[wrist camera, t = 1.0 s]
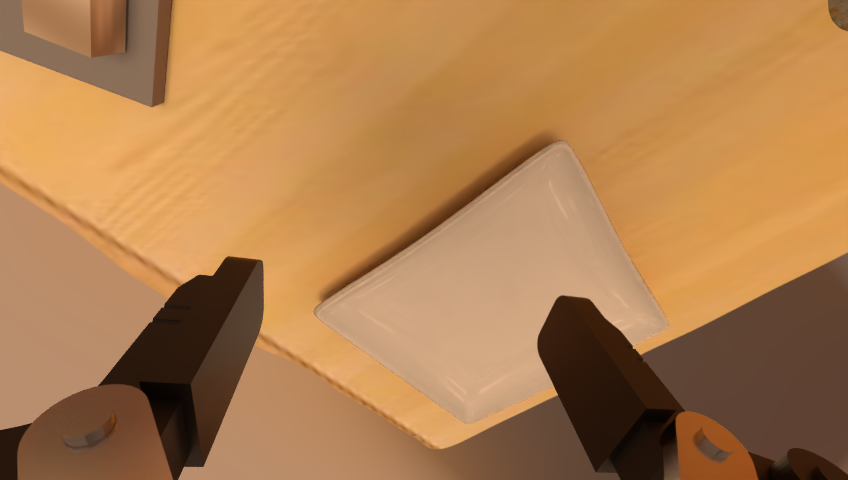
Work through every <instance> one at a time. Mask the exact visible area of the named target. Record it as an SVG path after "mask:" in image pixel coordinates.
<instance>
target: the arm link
mask: <svg viewBox="0 0 848 480" xmlns="http://www.w3.org/2000/svg"><path fill="white" fill-rule="evenodd" d="M21 3H22V13H23V23H24V32H27V33H29V34H32V35H35V36H37V37H40V38H42V39H45V40H47V41H50V42H52V43H55V44H57V45H60V46H63V47H65V48H68V49H70V50H73V51H75V52H78V53H80V54H83V55H85V56H88V57H91V58H92V57H99V56H105V55H111V54H117V53H124V52H125V34H126V0H21Z"/></svg>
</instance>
